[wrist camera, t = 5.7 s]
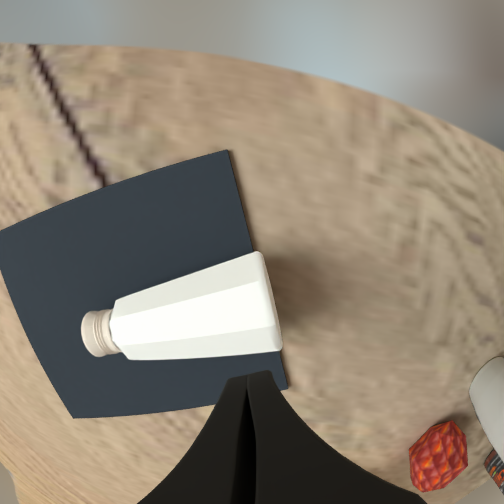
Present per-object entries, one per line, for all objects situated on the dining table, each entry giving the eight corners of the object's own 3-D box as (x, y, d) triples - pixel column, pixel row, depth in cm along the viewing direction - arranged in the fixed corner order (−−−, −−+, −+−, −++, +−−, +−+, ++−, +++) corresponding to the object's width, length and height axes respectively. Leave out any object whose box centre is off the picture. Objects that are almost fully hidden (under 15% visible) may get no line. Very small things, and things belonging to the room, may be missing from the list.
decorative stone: (446, 412, 26) (420, 477, 25) (409, 412, 24) (380, 485, 23) (492, 425, 20) (461, 497, 19) (460, 430, 18) (423, 511, 17)
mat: (74, 416, 21) (73, 418, 21) (-8, 235, 18) (-11, 235, 17) (287, 386, 21) (288, 388, 21) (227, 149, 17) (227, 149, 17)
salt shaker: (259, 237, 18) (93, 278, 19) (261, 268, 13) (51, 314, 14) (279, 319, 20) (123, 348, 21) (287, 371, 15) (94, 396, 16)
